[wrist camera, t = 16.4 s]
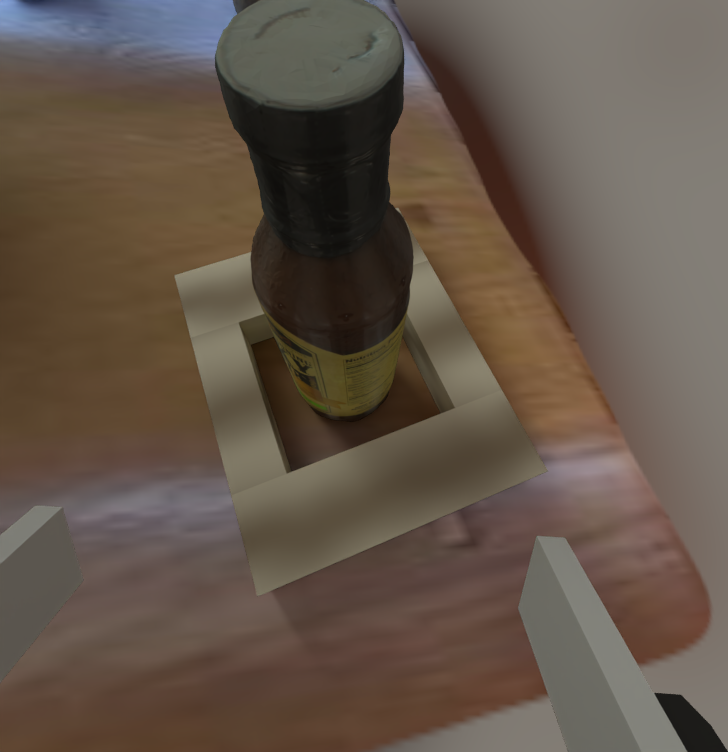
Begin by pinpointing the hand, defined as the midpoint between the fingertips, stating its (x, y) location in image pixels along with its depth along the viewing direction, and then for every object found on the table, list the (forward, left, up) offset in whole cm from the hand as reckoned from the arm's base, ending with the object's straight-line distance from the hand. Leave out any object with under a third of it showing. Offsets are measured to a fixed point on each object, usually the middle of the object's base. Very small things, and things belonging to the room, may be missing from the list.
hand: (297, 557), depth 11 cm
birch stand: (-9, +4, -12) cm, 16 cm away
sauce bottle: (-9, +4, -12) cm, 16 cm away
